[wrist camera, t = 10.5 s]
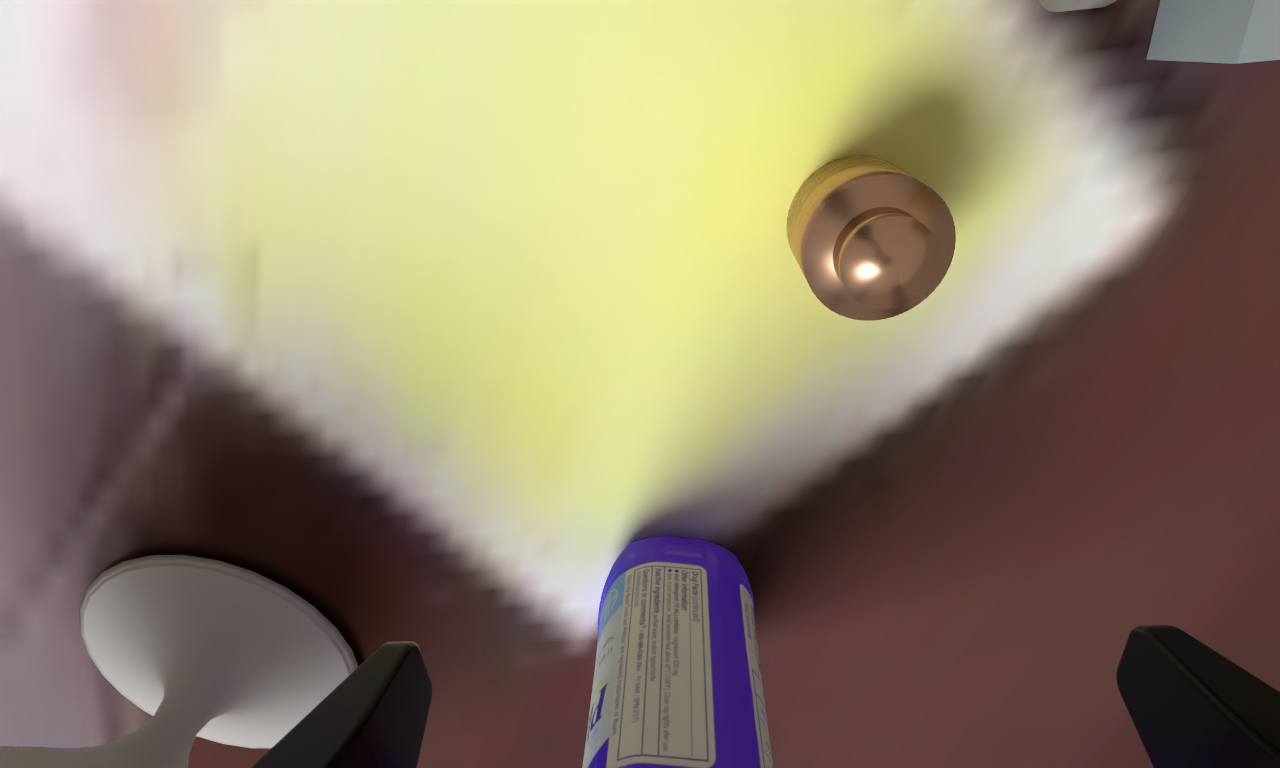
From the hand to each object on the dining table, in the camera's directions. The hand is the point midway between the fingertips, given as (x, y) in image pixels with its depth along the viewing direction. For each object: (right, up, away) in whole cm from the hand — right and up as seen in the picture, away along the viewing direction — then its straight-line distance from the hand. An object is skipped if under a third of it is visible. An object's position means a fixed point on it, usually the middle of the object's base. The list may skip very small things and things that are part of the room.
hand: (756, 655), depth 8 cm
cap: (+4, +8, +10) cm, 14 cm away
